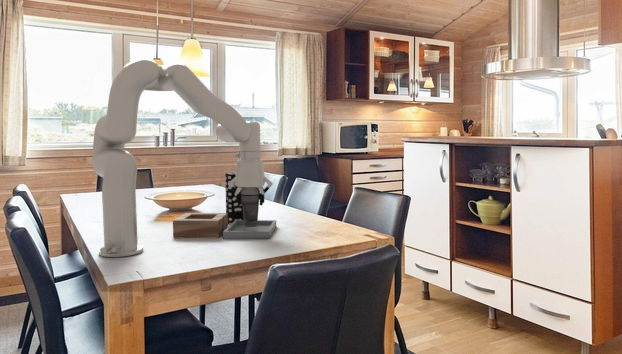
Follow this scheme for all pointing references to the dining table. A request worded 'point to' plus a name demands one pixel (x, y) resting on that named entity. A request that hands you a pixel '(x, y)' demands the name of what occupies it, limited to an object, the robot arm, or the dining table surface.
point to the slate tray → (250, 230)
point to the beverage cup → (250, 206)
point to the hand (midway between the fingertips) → (250, 204)
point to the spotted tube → (232, 201)
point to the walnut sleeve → (200, 225)
